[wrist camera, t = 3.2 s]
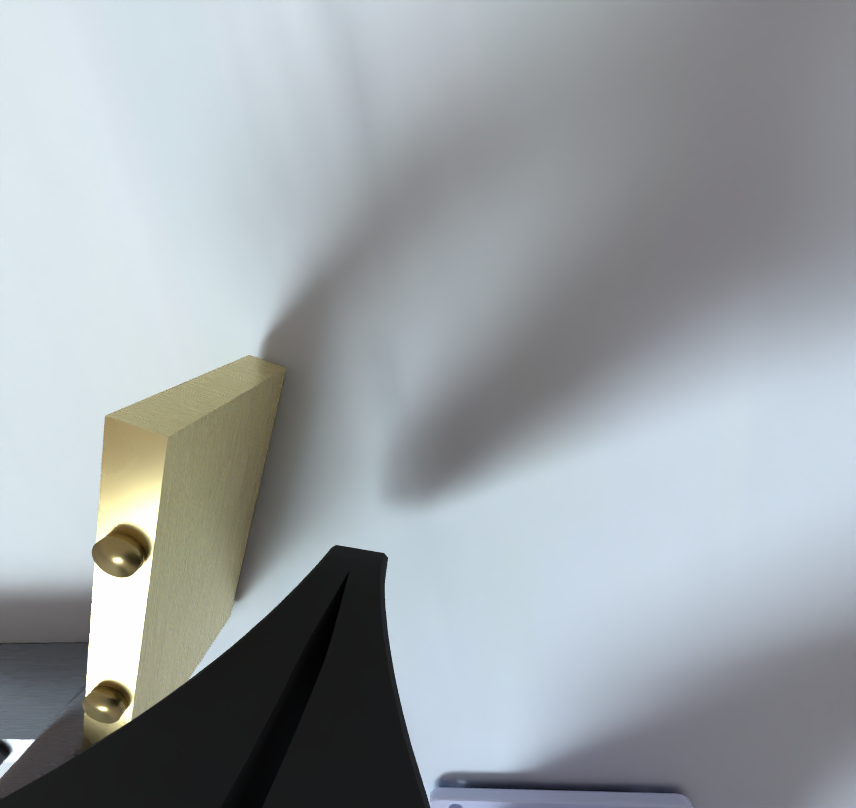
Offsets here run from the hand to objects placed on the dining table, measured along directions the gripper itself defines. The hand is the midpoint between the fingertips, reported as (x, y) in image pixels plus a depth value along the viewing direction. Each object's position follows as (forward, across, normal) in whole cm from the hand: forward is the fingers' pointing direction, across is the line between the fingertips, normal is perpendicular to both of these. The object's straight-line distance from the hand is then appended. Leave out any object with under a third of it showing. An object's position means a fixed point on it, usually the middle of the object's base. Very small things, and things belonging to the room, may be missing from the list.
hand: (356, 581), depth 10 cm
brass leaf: (+2, +4, 0) cm, 5 cm away
